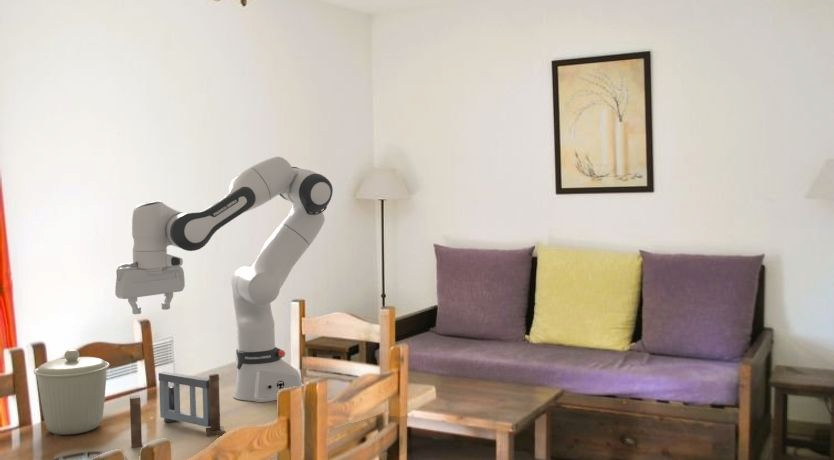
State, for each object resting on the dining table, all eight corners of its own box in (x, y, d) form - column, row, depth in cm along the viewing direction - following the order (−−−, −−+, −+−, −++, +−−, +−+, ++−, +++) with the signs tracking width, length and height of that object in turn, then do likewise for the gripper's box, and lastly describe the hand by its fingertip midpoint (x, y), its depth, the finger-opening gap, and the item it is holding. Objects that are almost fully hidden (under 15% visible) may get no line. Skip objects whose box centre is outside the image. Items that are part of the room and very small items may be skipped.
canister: (34, 444, 195) (31, 359, 194) (37, 424, 211) (34, 346, 210) (113, 434, 202) (110, 352, 201) (110, 416, 218) (107, 340, 217)
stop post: (182, 416, 217) (181, 384, 217) (183, 421, 212) (182, 388, 212) (163, 418, 215) (162, 385, 215) (164, 423, 211) (163, 390, 210)
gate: (213, 425, 203) (211, 379, 203) (207, 427, 202) (206, 380, 201) (165, 415, 213) (164, 371, 212) (159, 417, 211) (158, 373, 210)
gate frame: (223, 429, 204) (221, 372, 204) (226, 436, 199) (224, 377, 198) (131, 440, 197) (129, 380, 196) (131, 447, 191) (129, 386, 190)
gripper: (124, 264, 204) (125, 317, 205) (187, 258, 221) (188, 307, 222) (109, 263, 208) (110, 315, 209) (172, 257, 225) (174, 306, 226)
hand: (151, 311), depth 216 cm, fingers open, 8 cm apart
